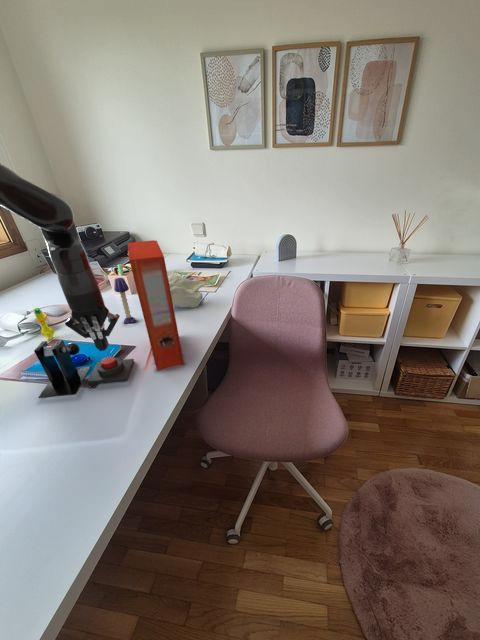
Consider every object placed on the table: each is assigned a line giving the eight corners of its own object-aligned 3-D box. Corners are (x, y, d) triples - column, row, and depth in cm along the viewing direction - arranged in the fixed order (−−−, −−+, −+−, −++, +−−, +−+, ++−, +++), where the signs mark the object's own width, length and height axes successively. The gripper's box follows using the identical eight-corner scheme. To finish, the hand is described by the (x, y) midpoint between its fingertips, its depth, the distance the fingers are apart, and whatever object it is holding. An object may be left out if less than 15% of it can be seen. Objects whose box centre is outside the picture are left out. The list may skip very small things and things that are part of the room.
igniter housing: (89, 387, 81) (84, 376, 79) (100, 367, 88) (95, 356, 86) (128, 384, 82) (124, 372, 80) (135, 364, 89) (131, 353, 87)
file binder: (176, 336, 103) (156, 239, 85) (185, 364, 89) (163, 255, 71) (151, 341, 100) (126, 243, 82) (157, 370, 87) (127, 260, 69)
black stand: (59, 372, 87) (41, 334, 80) (92, 369, 88) (76, 331, 81) (40, 400, 77) (16, 360, 70) (77, 397, 78) (57, 356, 71)
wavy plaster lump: (192, 315, 130) (201, 280, 128) (198, 320, 119) (208, 282, 116) (149, 305, 123) (157, 267, 120) (151, 310, 111) (160, 268, 108)
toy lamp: (132, 317, 115) (119, 275, 106) (140, 320, 113) (128, 277, 104) (121, 323, 111) (108, 280, 102) (130, 326, 109) (117, 282, 100)
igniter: (101, 369, 81) (98, 364, 80) (104, 362, 84) (103, 357, 83) (114, 368, 82) (112, 363, 81) (118, 361, 85) (116, 355, 84)
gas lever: (69, 355, 88) (68, 343, 88) (82, 354, 88) (81, 342, 88) (41, 359, 75) (39, 344, 75) (56, 357, 75) (55, 343, 75)
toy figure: (47, 336, 104) (31, 304, 98) (58, 334, 105) (44, 302, 99) (45, 345, 99) (28, 313, 92) (57, 343, 100) (42, 310, 94)
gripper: (43, 296, 67) (72, 359, 77) (105, 292, 68) (125, 354, 78) (58, 284, 73) (82, 343, 83) (114, 280, 75) (132, 339, 84)
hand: (103, 349), depth 80 cm, fingers closed
